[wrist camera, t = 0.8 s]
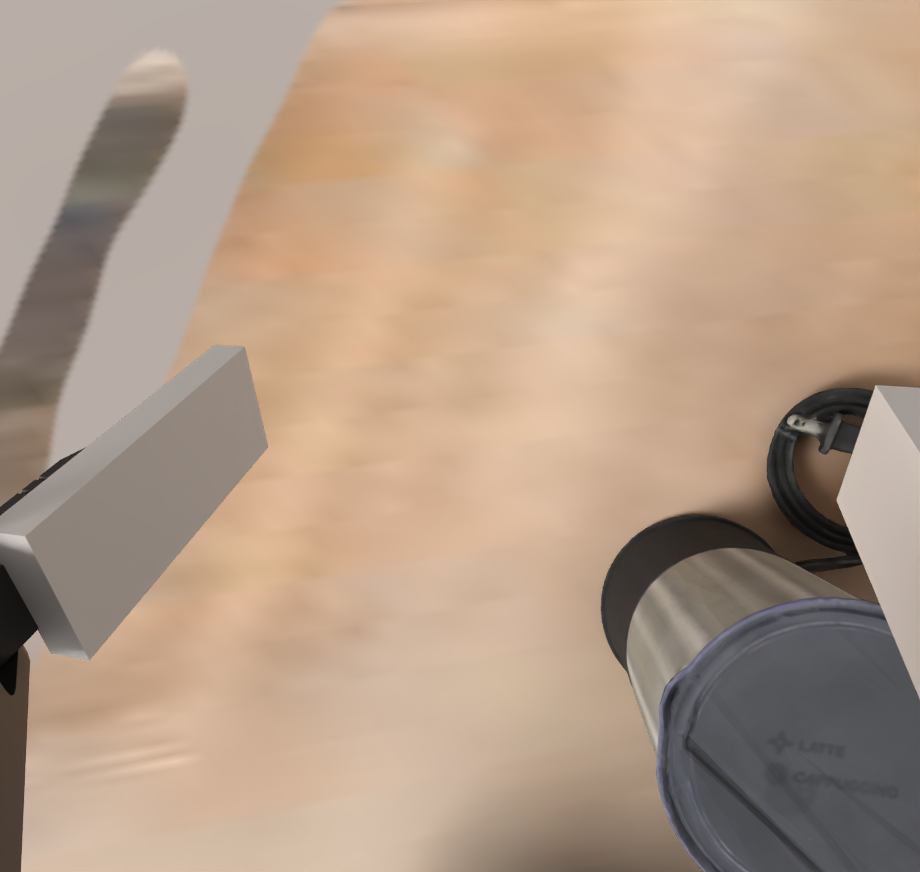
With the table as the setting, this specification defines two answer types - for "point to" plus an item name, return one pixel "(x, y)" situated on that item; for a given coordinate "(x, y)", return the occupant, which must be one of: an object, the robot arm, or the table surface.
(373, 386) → the table surface
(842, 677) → the milk frother
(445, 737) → the table surface
